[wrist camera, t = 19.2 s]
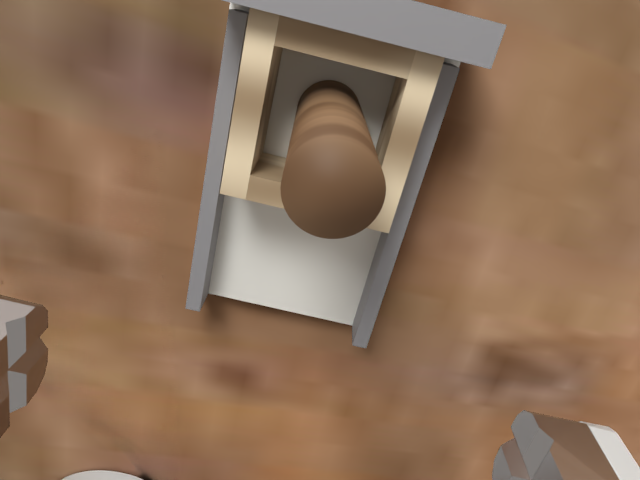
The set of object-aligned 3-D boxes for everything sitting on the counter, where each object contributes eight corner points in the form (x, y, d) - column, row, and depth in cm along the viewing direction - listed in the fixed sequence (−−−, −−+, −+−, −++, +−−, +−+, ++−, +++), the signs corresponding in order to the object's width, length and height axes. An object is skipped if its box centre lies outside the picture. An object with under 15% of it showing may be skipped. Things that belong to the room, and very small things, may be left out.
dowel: (352, 150, 33) (371, 247, 20) (291, 137, 33) (272, 228, 20) (367, 87, 31) (398, 151, 19) (303, 73, 31) (290, 129, 18)
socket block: (382, 203, 34) (388, 233, 30) (236, 168, 34) (219, 193, 29) (430, 49, 30) (445, 56, 26) (264, 6, 30) (249, 6, 25)
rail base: (370, 318, 40) (376, 388, 33) (193, 279, 39) (159, 340, 32) (468, 21, 31) (506, 25, 24) (241, -39, 30) (208, -54, 23)
